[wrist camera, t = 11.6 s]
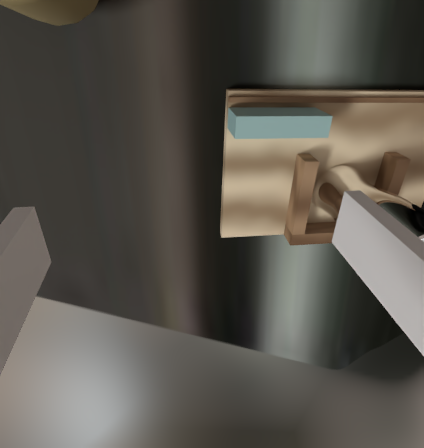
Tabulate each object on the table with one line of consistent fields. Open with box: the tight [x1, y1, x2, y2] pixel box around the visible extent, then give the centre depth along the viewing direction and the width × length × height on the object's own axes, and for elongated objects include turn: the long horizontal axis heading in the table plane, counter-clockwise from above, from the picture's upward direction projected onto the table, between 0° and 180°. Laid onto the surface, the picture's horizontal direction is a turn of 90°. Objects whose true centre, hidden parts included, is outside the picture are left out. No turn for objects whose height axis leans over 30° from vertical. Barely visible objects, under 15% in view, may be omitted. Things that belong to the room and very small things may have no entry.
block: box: [227, 107, 333, 139], centre depth 31 cm, size 2×9×4 cm, turn 89°
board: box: [220, 89, 424, 245], centre depth 37 cm, size 17×26×4 cm, turn 89°
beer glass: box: [313, 165, 424, 242], centre depth 32 cm, size 7×7×15 cm
